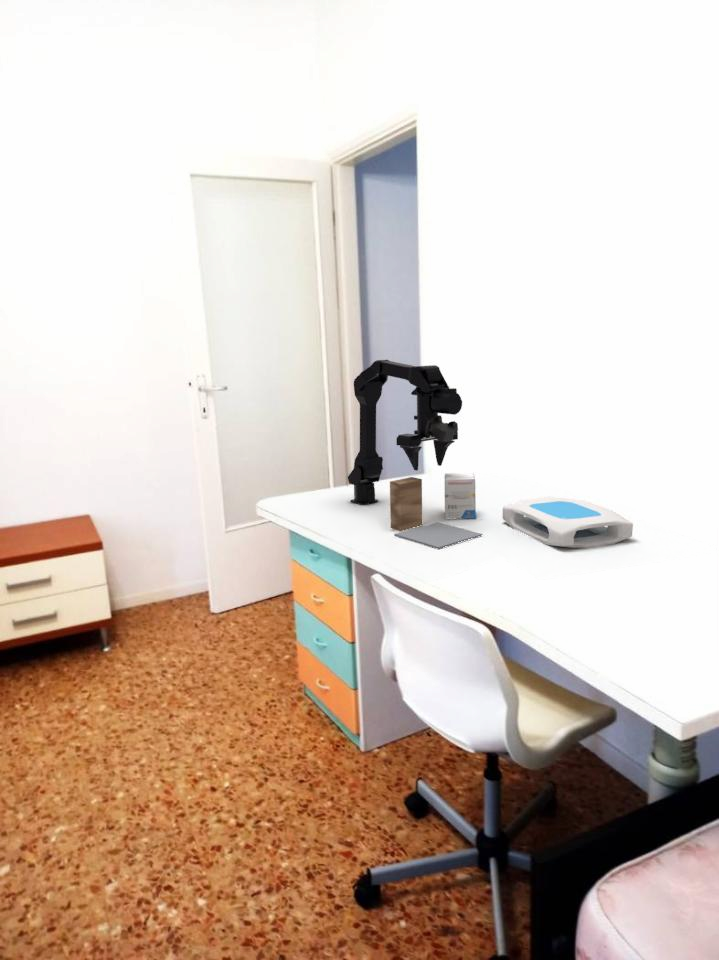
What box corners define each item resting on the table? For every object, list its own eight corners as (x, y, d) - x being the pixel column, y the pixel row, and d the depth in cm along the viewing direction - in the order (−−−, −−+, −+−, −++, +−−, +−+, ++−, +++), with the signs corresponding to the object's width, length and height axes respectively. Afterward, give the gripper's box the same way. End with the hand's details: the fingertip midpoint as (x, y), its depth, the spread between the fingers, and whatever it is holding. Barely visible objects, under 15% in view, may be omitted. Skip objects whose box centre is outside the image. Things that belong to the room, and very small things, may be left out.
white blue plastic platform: (566, 515, 196) (567, 493, 195) (633, 542, 170) (635, 517, 169) (500, 523, 190) (501, 501, 189) (560, 552, 164) (561, 527, 163)
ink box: (474, 511, 202) (474, 472, 200) (475, 519, 194) (476, 478, 192) (444, 511, 203) (444, 472, 201) (444, 519, 195) (444, 478, 192)
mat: (394, 535, 180) (394, 533, 180) (437, 523, 190) (437, 522, 190) (438, 549, 168) (438, 547, 168) (482, 535, 178) (482, 533, 178)
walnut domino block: (390, 528, 188) (389, 481, 185) (412, 522, 192) (411, 477, 190) (400, 531, 184) (399, 483, 182) (422, 525, 189) (421, 479, 187)
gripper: (423, 417, 178) (424, 477, 181) (472, 410, 189) (472, 466, 192) (394, 414, 186) (395, 471, 189) (443, 408, 198) (443, 461, 201)
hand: (427, 467), depth 193 cm, fingers open, 9 cm apart
